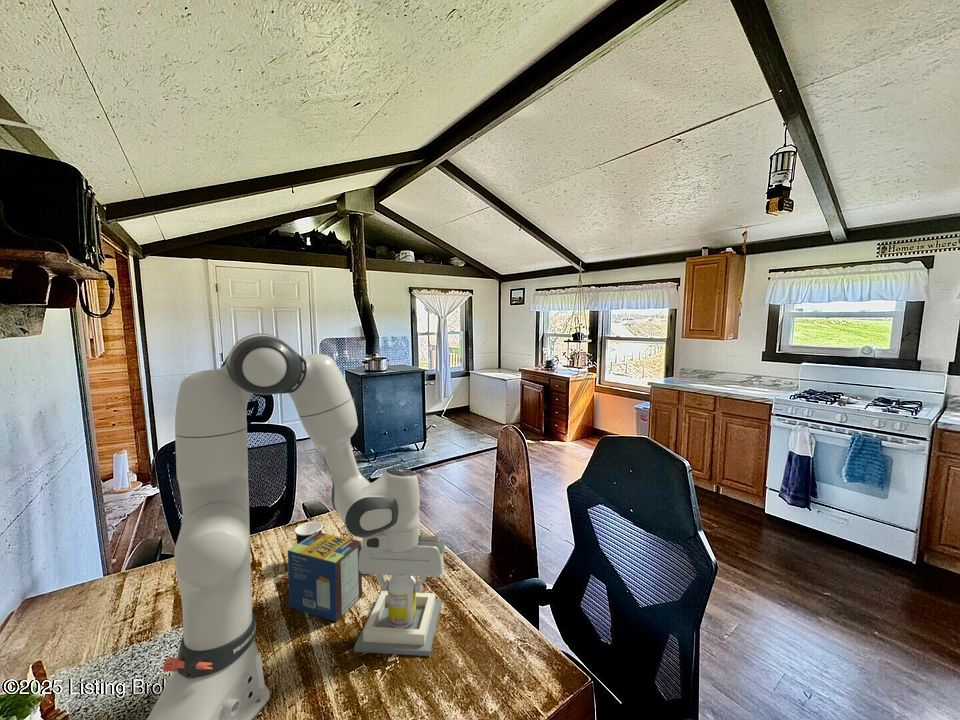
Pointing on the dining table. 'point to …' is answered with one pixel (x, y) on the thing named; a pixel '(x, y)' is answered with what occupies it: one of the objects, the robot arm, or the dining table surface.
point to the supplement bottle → (401, 601)
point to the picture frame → (400, 640)
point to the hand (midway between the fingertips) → (401, 590)
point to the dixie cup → (307, 530)
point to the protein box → (324, 575)
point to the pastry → (282, 582)
